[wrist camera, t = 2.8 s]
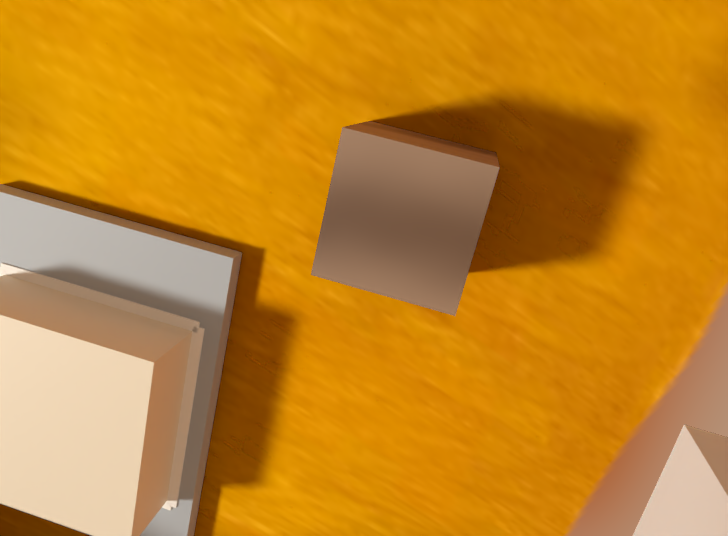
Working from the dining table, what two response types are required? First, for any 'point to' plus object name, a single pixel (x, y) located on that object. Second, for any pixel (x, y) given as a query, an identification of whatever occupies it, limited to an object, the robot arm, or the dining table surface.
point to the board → (136, 280)
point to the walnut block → (404, 214)
